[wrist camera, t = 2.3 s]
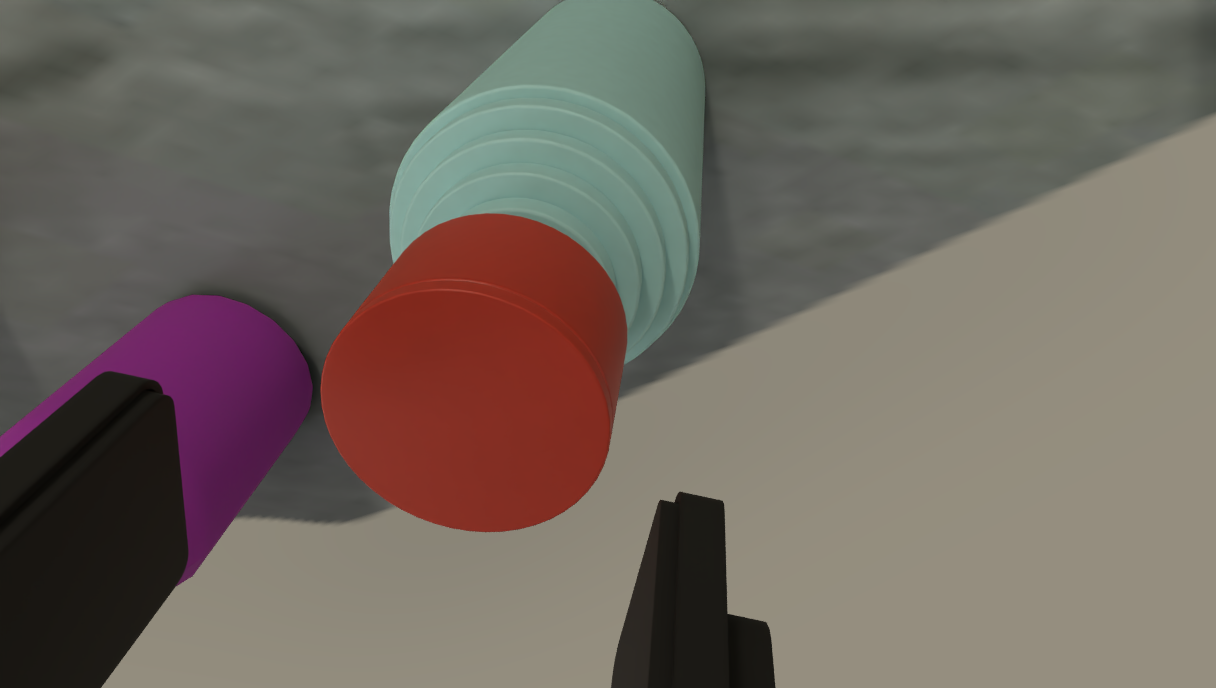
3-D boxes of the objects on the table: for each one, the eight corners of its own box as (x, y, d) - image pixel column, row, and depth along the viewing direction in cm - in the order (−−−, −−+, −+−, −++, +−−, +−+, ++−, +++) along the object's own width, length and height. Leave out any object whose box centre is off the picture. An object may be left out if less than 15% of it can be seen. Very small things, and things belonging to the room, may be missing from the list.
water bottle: (530, -31, 28) (244, 145, 11) (726, 11, 28) (746, 254, 11) (506, 160, 31) (260, 522, 14) (681, 198, 31) (643, 605, 14)
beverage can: (296, 458, 39) (148, 673, 29) (137, 389, 38) (-75, 587, 28) (342, 334, 36) (190, 530, 25) (167, 253, 34) (-66, 424, 24)
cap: (391, 186, 13) (320, 258, 11) (651, 242, 13) (636, 327, 11) (379, 401, 16) (318, 500, 13) (603, 449, 16) (583, 557, 13)
